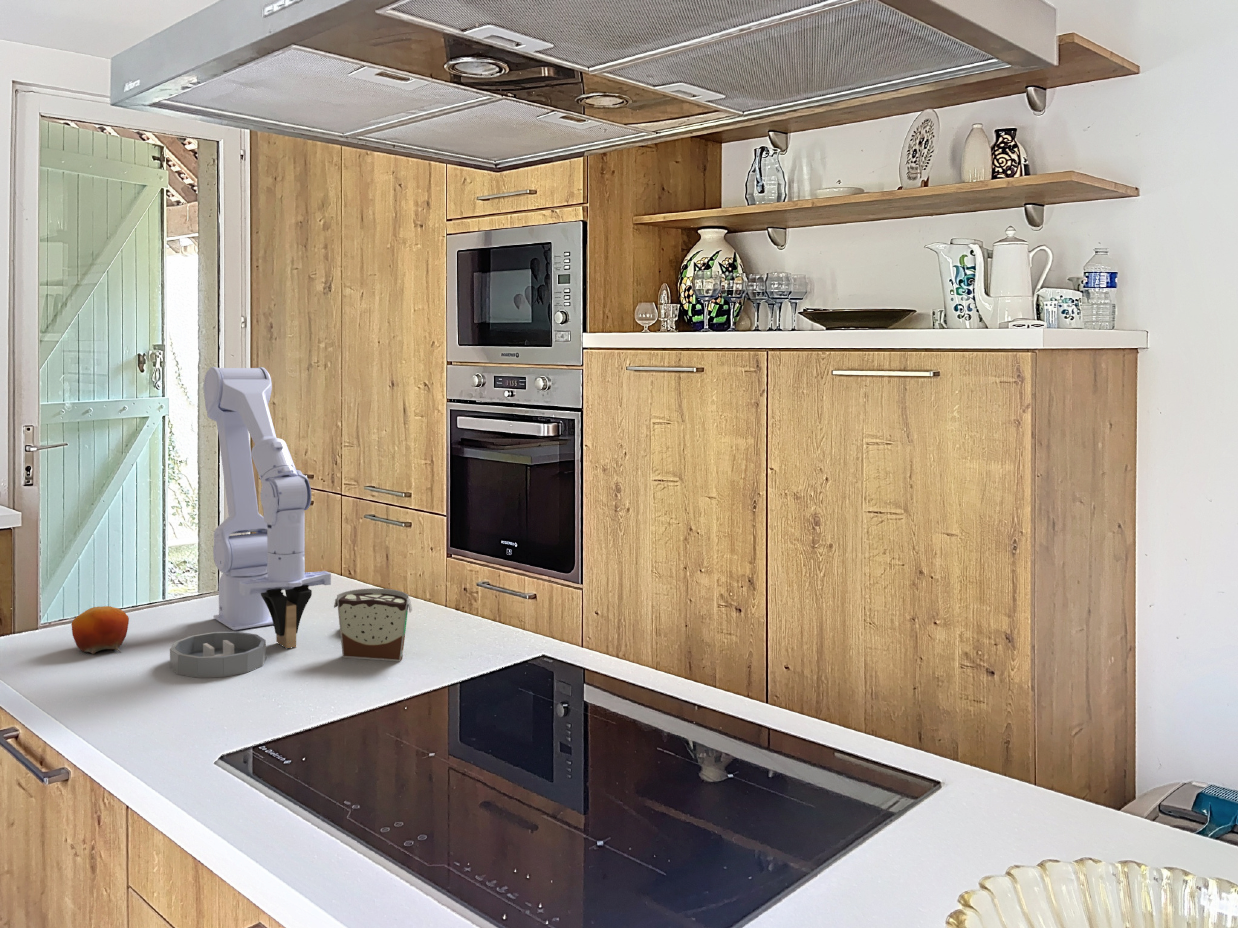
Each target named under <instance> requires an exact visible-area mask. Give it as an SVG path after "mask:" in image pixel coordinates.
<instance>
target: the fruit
mask: <svg viewBox="0 0 1238 928" xmlns="http://www.w3.org/2000/svg"><path fill="white" fill-rule="evenodd" d="M129 619H130V617H129V616H128V615H127V613H126V612H125V611H123V610H122V609H121V608H118V607H114V606H111V605H105V606H102V605H101V606H93V607H91V608H88V609H86V610H85V611H83V612H82V613H79V615H78V616H76V617H74V619H73V620H72V622H71V625H70V626H71V633H72V637H73V641H74V643H75V644H76V647H77V648H78V649H80V651H82V652H84V653H90V654H92V655H94V654H95V653H97V652H100V651H104V650H115V651H118V652H119V653H121V650H120V648H119V647H120V646H122V645H123V643H124V640H125V639H126V636H127V634H128V630H129V624H130V623H129V621H130V620H129Z"/></svg>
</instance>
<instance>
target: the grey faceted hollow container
mask: <svg viewBox="0 0 1238 928" xmlns="http://www.w3.org/2000/svg"><path fill="white" fill-rule="evenodd" d="M266 642H267V640H266V639H265V638H263V637H261V636H260V635H258V634H256V633H250V632H243V631H242V632H241V631H213V632H206V633H200V634H194V635H189V636H186V637H184V638H181V639H179V640H176V641H174V643H172V645H171V646H170V648H169V668H170V670H172V671H173V672H175V674H177V675H180V676H185V677H190V678H191V677H192V678H197V679H198V678H199V679H201V678H202V679H203V678H206V679H207V678H225V677H226V678H227V677H231V676H237V675H243V674H247V673H250V672H252V671H255V670H256V669H255V668H257V669H259V668H261V667H263V666H264V663H265V662H264V661H266V660H267V659H266V658H267V657H266V656H267V653H266V652H267V651H266V650H267V648H266V647H267V646H266ZM262 665H263V666H262ZM258 667H259V668H258ZM254 669H255V670H254ZM249 671H250V672H249Z"/></svg>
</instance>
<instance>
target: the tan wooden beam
mask: <svg viewBox="0 0 1238 928" xmlns="http://www.w3.org/2000/svg"><path fill="white" fill-rule="evenodd" d="M275 634H276V633H275ZM275 636H276V637H275V638H276V639H275V640H276V642H278V643H279V644H281V645H283V646H284V647H286V648H291V647H296V648H297V633H296V605H295V604H293V603H291V602H289V601H287V603H286V609H285V633H284V636H279V635H277V634H276V635H275ZM279 644H278V645H279ZM281 645H280V646H281ZM284 647H283V648H284ZM286 648H285V649H286ZM291 649H292V648H291Z"/></svg>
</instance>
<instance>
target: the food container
mask: <svg viewBox="0 0 1238 928" xmlns="http://www.w3.org/2000/svg"><path fill="white" fill-rule="evenodd" d="M336 608H337V611H338V612H337V613H338V623H339V624H338V625H339V635H340V642H341V643H340V644H341V652H342V654H341V655H342V658H344V659H345V658H346V659H347V658H348V659H360V660H363V659H364V660H372V659H374V660H375V659H376V661H386V662H387V661H389V662H402V660H403V656H404V655H403V654H404V648H405V638H406V637H405V636H406V630H407V621H408V613H411V612H412V611H413V606H412V602H411V598H410V596H409V594H408V593H406V592H404V591H401V590H396V589H390V588H358V589H352V590H346V591H343V592H340V593H338V594H336V598H335V599H334V605H333V609H336Z"/></svg>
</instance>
